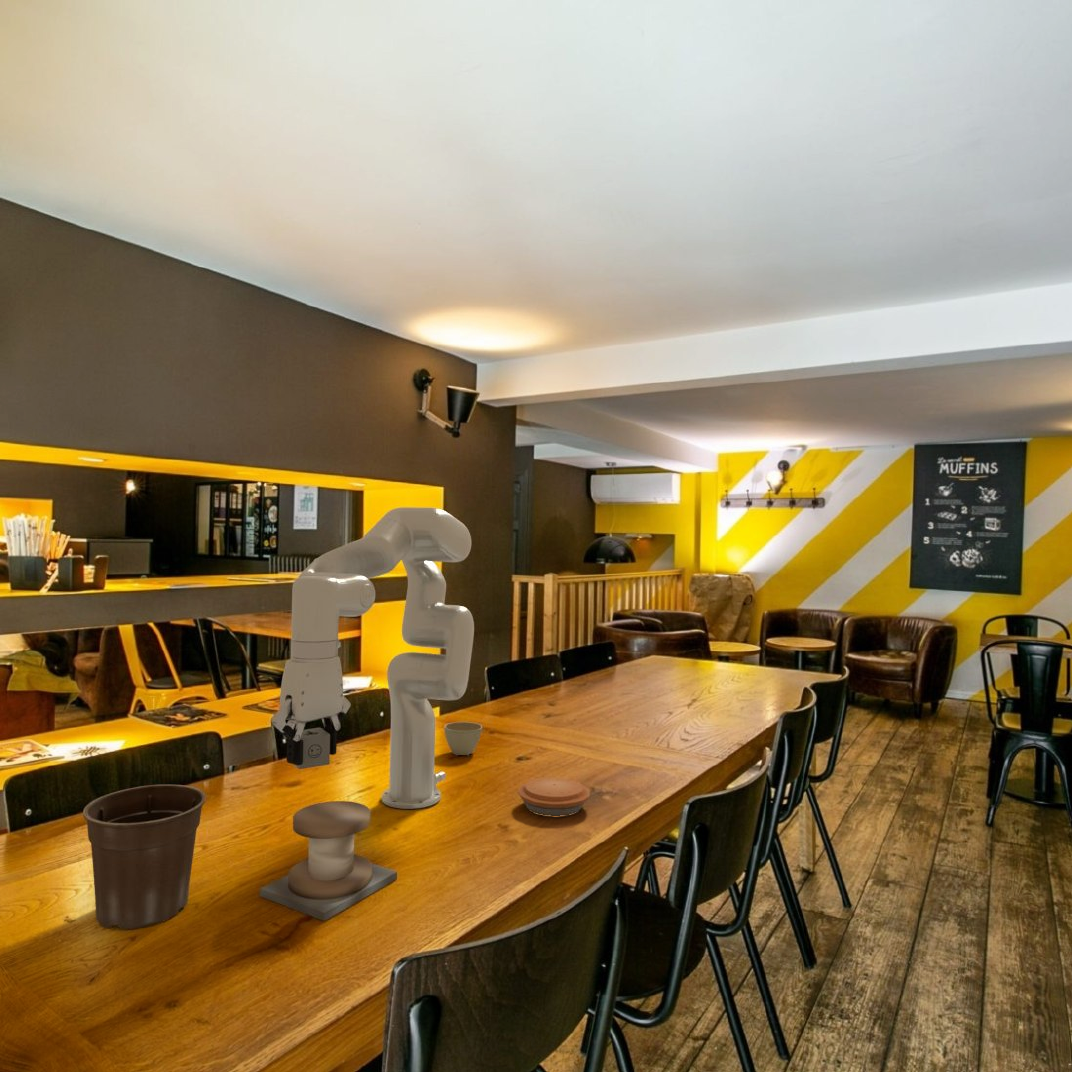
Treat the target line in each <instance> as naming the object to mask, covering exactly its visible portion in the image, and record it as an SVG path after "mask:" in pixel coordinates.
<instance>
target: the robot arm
mask: <svg viewBox="0 0 1072 1072" xmlns="http://www.w3.org/2000/svg"><path fill="white" fill-rule="evenodd" d="M471 549H472V536H471V534H470V530H469V529H468V527H467V526H466V525H465V524H464V523H463V522H461V520H458V518H456V517H454V516H453V515H452V514H451V513H448V512H447V511H446V510H442V509H441V508H437V507H418V506H417V507H416V506H415V507H413V506H411V507H405V506H404V507H403V506H402V507H401V506H400V507H396V508H392V509H390V510H389V511H388V512H386V513H385V514H384V515H383V516H382V517H381V518H380V519H379V520H378V521H377V522H376V524H375V525H374V526H372V528H370V529H369V531H368V532H366V534H364V536H363V537H361V538H360V539H359V538H358V539H357V540H353V541H351V542H348V543H346V544H344V545H341V546H339V547H337V548H334V549H332V550H329V551H328V552H326V553H323V554H322V555H320V556H319V557H318V556H317V558H315V559H314V560H313V561H312V562H311V563H309V565H308V566H306V568H304V570H303V571H302V572H301V573H300V575H299V576H298V577H297V578H295V580H294V581H293V583H292V591H291V592H292V593H291V594H292V599H291V629H290V630H291V631H290V632H291V633H290V635H291V637H290V659H287V660H286V661H285V665H284V669H283V673H282V679H281V685H280V692H279V693H280V694H279V695H280V696H279V704H278V705H279V709H278V710H277V712H276V713H275V715H274V716H273V717H272V718H271V723H272V725H273V726H274V727H275V729H277V731H278V732H279V733H280V734H281V735H282V736H283V738H284V739H286V762H287V763H288V764H290V765H291V764H292V765H294V764H295V765H302V763H303V740H300V738H301V735H302V732H303V730H305V727H306V723H310V722H314V721H318V720H321V721H322V724H323V728H322V727H321V728H322V729H323V730H325V731H326V732H327V733H329V734H330V756H334V755H336V754H337V744H338V741H337V739H338V731H339V730H340V729H341V723H342V722H343V720H344V718H345V717H346V714H347V712H348V711H349V709H350V707H351V702H350V701H349V700H348V699H347V697H346V696H344V677H343V669H342V663H341V657H340V656H339V648H341V647H342V643H341V641H340V640H339V627H340V626H339V624H340V623H339V619H340V617H351V618H353V617H354V618H355V617H359V616H363V615H364V614H366V613H368V611H370V610H371V608H372V607H373V605H374V603H375V599H376V589H375V586H374V584H373V582H372V581H371V579H373V578H377V577H380V576H384V575H386V574H389V573H390V572H392V571H393V570H395V568H396V567H397V566H398V564H399V563H400V562H401V561H402V564H403V567H404V569H405V572H406V576H407V591H406V598H405V604H404V611H403V617H402V624H401V625H402V626H401V636H402V639H403V641H404V642H405V643H406V644H407V645H410V646H414V647H418V648H419V647H420V648H421V647H422V648H431V649H432V648H433V649H444V650H445V651H446V652H445V654H439V653H430V652H416V651H415V652H414V651H413V652H402V653H400V654H397V655H395V656H394V657H393V658H392V659H391V660H390V662H389V664H388V665H387V666H388V667H387V672H386V678H387V685H388V691H389V699H390V700H389V701H390V742H389V743H390V744H389V745H390V746H389V748H390V749H389V787H388V789H386V790H384V791H383V792H382V794H381V802H382V803H383V804H384V805H386V806H388V807H391V808H393V809H394V808H395V809H404V810H412V809H413V810H415V809H423V808H427V807H431V806H433V805H436V804H437V803H438V802H440V800H441V798H442V796H441V795H442V793H441V791H440V790H439V789H438V788H437V784H438V783H439V782H442V781H444V780H445V779H446V777H447V774H446V772H445V771H443V770H442V771H441V770H440V771H438V772H437V773H436V772H435V755H436V753H435V752H436V751H435V748H436V715H435V711H434V709H433V707H432V705H431V703H430V701H429V700H438V701H440V700H441V701H457V700H459V699H461V698H462V697H463V696H464V695H465V693H466V691H467V688H468V682H469V676H470V668H471V662H472V661H471V660H472V653H473V644H474V635H475V622H474V617H473V614H472V613H471V611H470V610H469V609H468V608H467V607H465V606H463V605H462V606H461V605H456V604H455V605H454V604H445V600H446V592H447V581H446V579H445V577H444V574H443V573H442V571H441V570H440V568H439V567H438V566H437V564H436V563H437V562H438V563H460V562H463V561H464V560H466V558H468V556H469V554H470V552H471ZM435 562H436V563H435ZM286 720H288V721H287V722H286ZM294 728H295V729H294ZM295 765H294V766H295Z"/></svg>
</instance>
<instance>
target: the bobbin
mask: <svg viewBox="0 0 1072 1072" xmlns="http://www.w3.org/2000/svg"><path fill="white" fill-rule="evenodd" d="M370 824H371V809H370V808H369V807H368V806H366V805H365V804H362V803H359V802H356V801H344V800H333V801H324V802H318V803H314V804H310V805H307V806H305V807H302V808H300V809H299V810H298V811H296V812H295V813H294V815H293V816H292V830H293V831H294V833H295V834H297V835H299V836H301V837H304V838H308V858H306V859H304V860H302V861H300V862H297V863H296V864H295V865H294V866H292V867H291V868H290V870H289V872H288V874H287V875H286V876H283V877H281V878H279V879H277V880H275V881H273V882H270V883H268V884H267V885H265V886H263V887H260V888H259V896H260V897H262V898H263V899H266V900H269V901H270V902H275V903H276V904H280V905H281V906H284V907H286V908H290V909H292V910H295V911H297V912H299V913H302V914H304V915H308V916H310V917H313V918H315V919H318V920H320V921H323V922H326V921H328V920H329V919H331V918H332V917H334V916H336V915H337V914H339V913H341V912H342V911H344V910H346V909H348V908H350V907H352V906H353V905H355V904H356V903H358V902H360V901H362V900H364V899H365V898H367V897H368V896H370V895H372V894H374V893H376V892H377V891H379V890H380V889H382V888H384V887H386V886H387V885H389V884H390V883H393V882H394V881H396V880H397V879H398V871H396V870H393V869H390V868H387V867H384V866H381V865H378V864H376V863H375V864H374V863H372V862H371V861H370V860H369V859H367V857H364V856H361V855H358V854H354V852H355V850H354V849H355V834H358V833H360V832H362V831H364V830H366V829H367V828H368V826H370Z"/></svg>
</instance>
